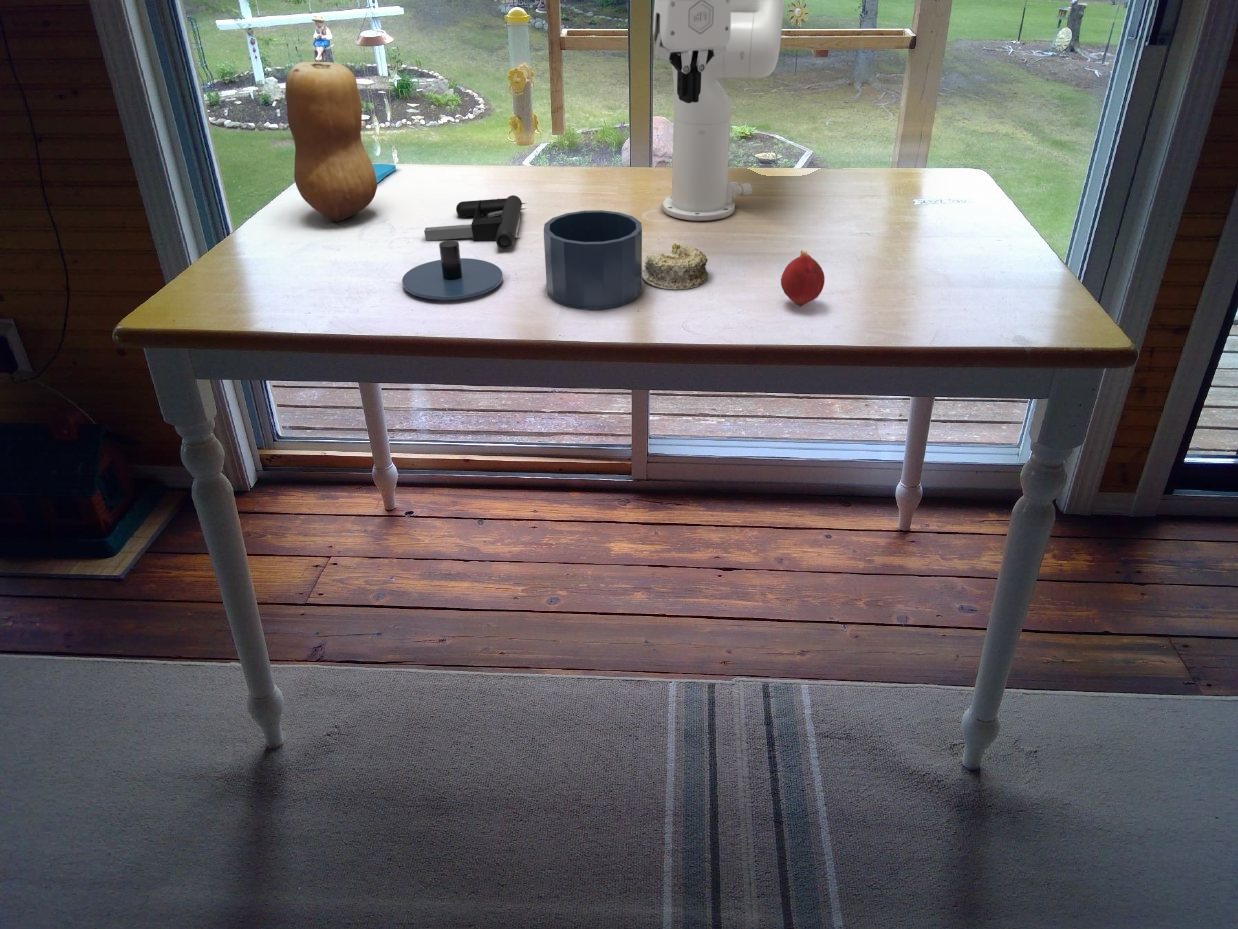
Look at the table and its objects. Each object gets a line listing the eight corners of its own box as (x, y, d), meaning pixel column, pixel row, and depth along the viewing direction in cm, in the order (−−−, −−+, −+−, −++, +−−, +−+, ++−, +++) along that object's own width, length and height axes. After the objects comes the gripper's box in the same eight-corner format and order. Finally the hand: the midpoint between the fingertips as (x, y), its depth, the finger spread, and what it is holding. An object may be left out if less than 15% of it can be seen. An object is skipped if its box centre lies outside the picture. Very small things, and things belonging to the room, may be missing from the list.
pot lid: (486, 258, 146) (483, 220, 143) (516, 293, 135) (513, 252, 132) (393, 274, 141) (387, 234, 138) (416, 310, 130) (410, 269, 127)
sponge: (341, 181, 177) (369, 179, 176) (369, 163, 187) (395, 161, 186) (344, 189, 178) (372, 187, 177) (371, 171, 188) (397, 169, 186)
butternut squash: (393, 219, 162) (370, 64, 148) (317, 236, 155) (286, 75, 142) (362, 199, 171) (338, 51, 157) (290, 213, 165) (258, 61, 151)
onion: (824, 300, 132) (830, 245, 128) (817, 316, 128) (824, 260, 123) (783, 295, 134) (788, 241, 129) (775, 311, 129) (780, 255, 125)
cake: (721, 277, 141) (725, 244, 137) (681, 299, 134) (684, 265, 131) (668, 257, 145) (671, 224, 142) (627, 277, 139) (629, 243, 136)
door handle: (417, 238, 147) (519, 231, 147) (436, 198, 164) (527, 191, 163) (421, 259, 149) (521, 251, 148) (439, 217, 165) (529, 210, 165)
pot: (618, 266, 143) (618, 205, 138) (657, 299, 133) (658, 234, 128) (534, 281, 139) (530, 218, 133) (567, 316, 128) (564, 249, 123)
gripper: (654, -39, 119) (652, 112, 129) (756, -45, 124) (747, 101, 134) (629, -45, 124) (630, 100, 135) (728, -50, 129) (721, 90, 140)
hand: (688, 100), depth 134 cm, fingers closed
